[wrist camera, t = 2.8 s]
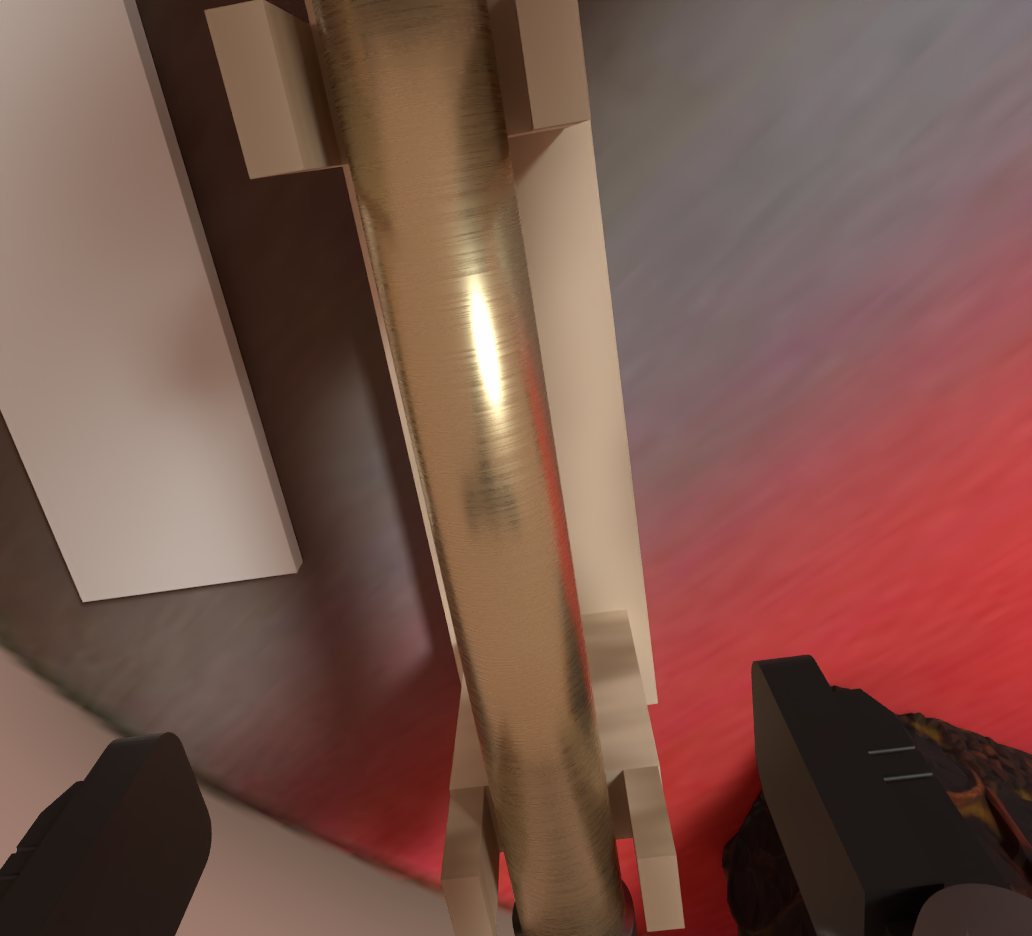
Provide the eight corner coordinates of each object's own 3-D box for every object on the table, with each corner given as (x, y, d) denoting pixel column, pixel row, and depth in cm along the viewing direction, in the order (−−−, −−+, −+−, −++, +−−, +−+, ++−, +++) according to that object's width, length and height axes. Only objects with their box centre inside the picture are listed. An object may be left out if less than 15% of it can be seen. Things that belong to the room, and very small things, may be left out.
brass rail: (303, -79, 14) (243, -139, 11) (483, -116, 14) (470, -186, 11) (517, 886, 23) (516, 997, 20) (628, 874, 23) (644, 985, 20)
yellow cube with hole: (828, 676, 31) (958, 908, 21) (1051, 753, 32) (1265, 1002, 23) (709, 858, 34) (777, 1123, 25) (913, 920, 36) (1050, 1194, 26)
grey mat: (96, -130, 21) (80, -140, 20) (302, 561, 29) (297, 572, 28) (-184, -72, 22) (-209, -79, 21) (94, 590, 29) (82, 602, 29)
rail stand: (567, -42, 22) (608, -227, 11) (651, 677, 31) (721, 975, 20) (317, 6, 22) (114, -125, 11) (473, 700, 31) (443, 1002, 20)
